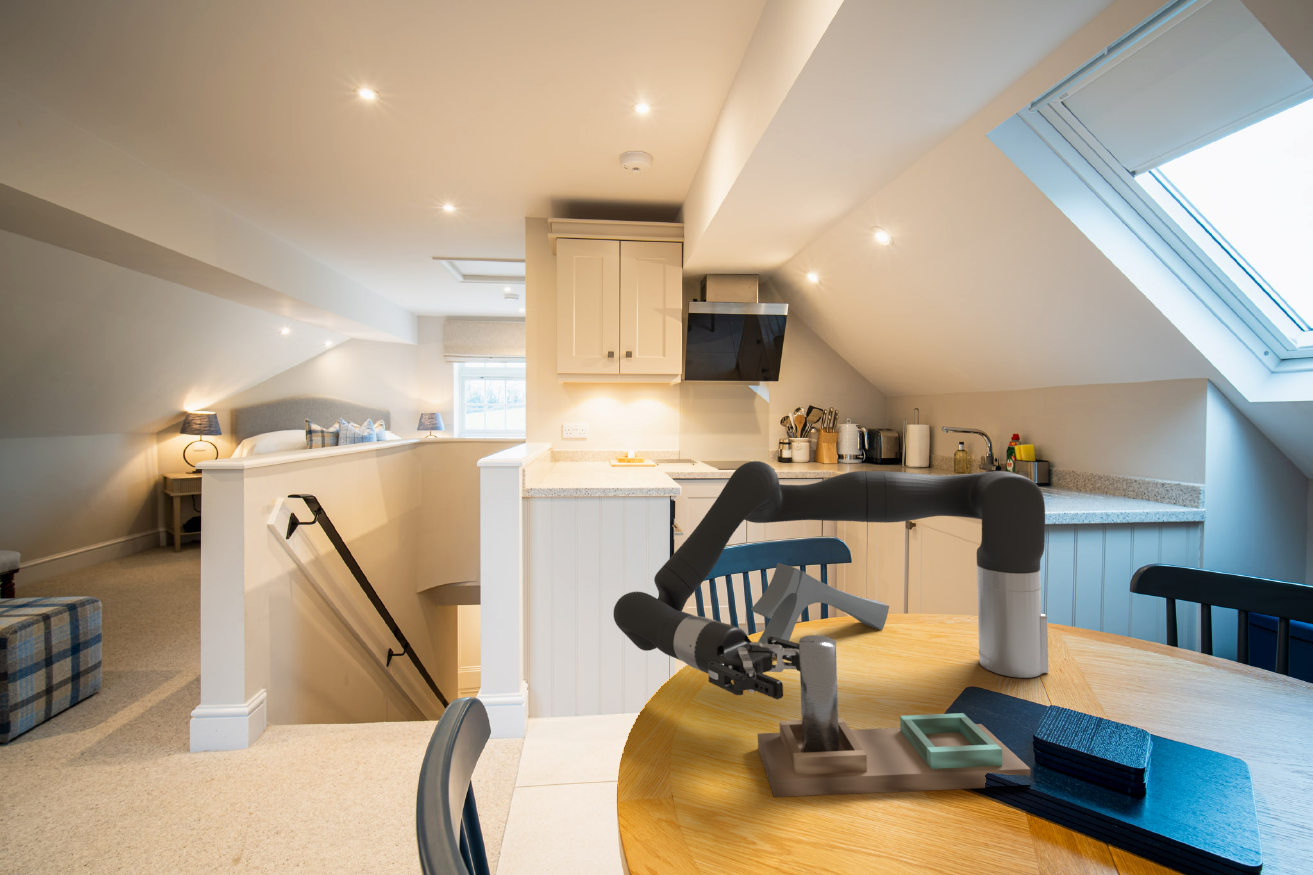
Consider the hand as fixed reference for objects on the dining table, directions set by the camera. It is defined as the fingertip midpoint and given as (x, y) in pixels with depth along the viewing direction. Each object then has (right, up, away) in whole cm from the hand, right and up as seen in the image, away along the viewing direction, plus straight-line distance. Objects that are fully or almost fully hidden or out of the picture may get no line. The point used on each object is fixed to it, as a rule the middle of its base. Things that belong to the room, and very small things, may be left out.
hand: (802, 679), depth 74 cm
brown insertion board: (+10, -10, -2) cm, 14 cm away
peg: (+2, -8, -2) cm, 9 cm away
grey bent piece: (+14, -9, +40) cm, 43 cm away
